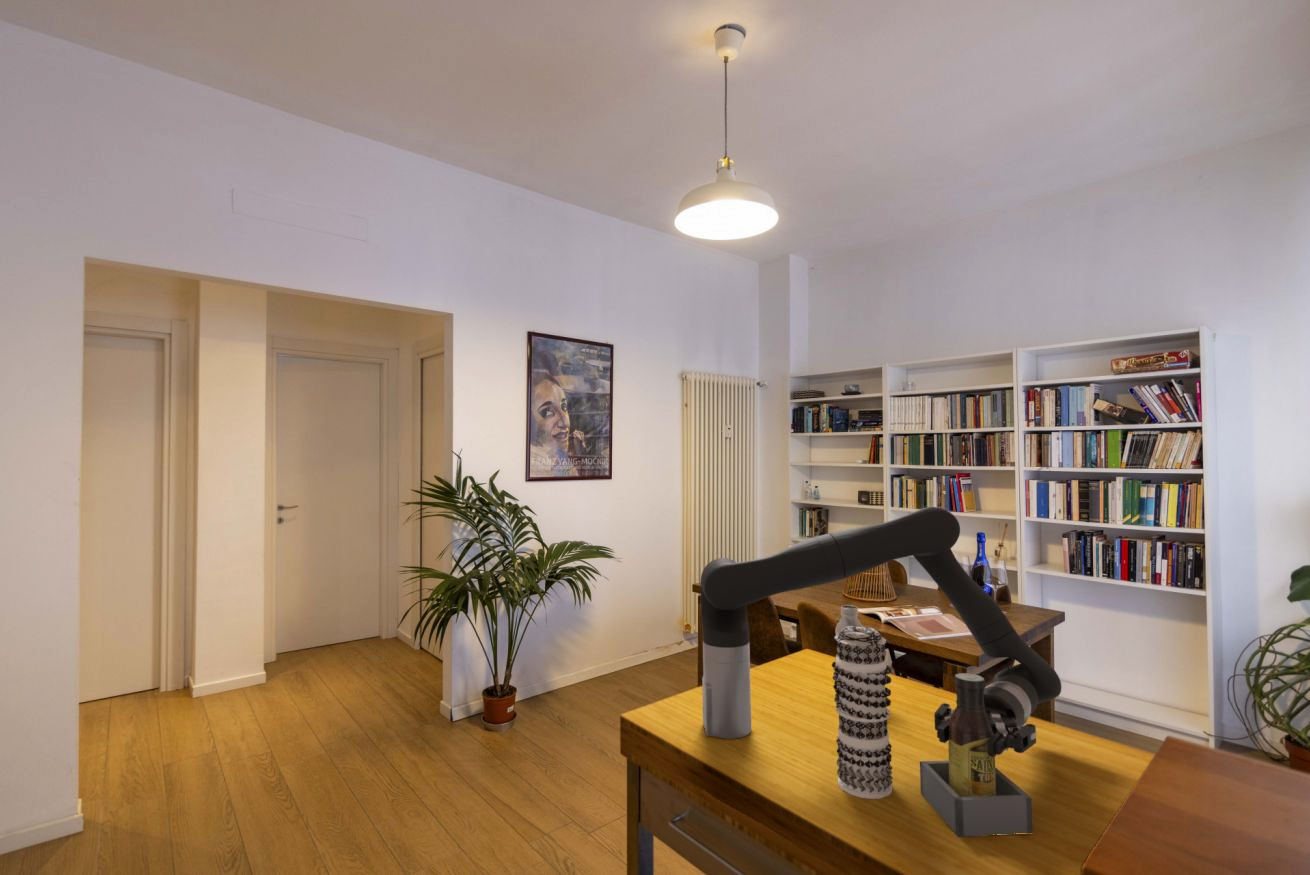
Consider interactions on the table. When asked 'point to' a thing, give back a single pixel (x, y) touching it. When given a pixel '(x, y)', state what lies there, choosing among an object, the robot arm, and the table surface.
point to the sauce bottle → (970, 741)
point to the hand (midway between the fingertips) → (965, 742)
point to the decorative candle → (862, 713)
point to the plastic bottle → (847, 618)
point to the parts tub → (976, 804)
